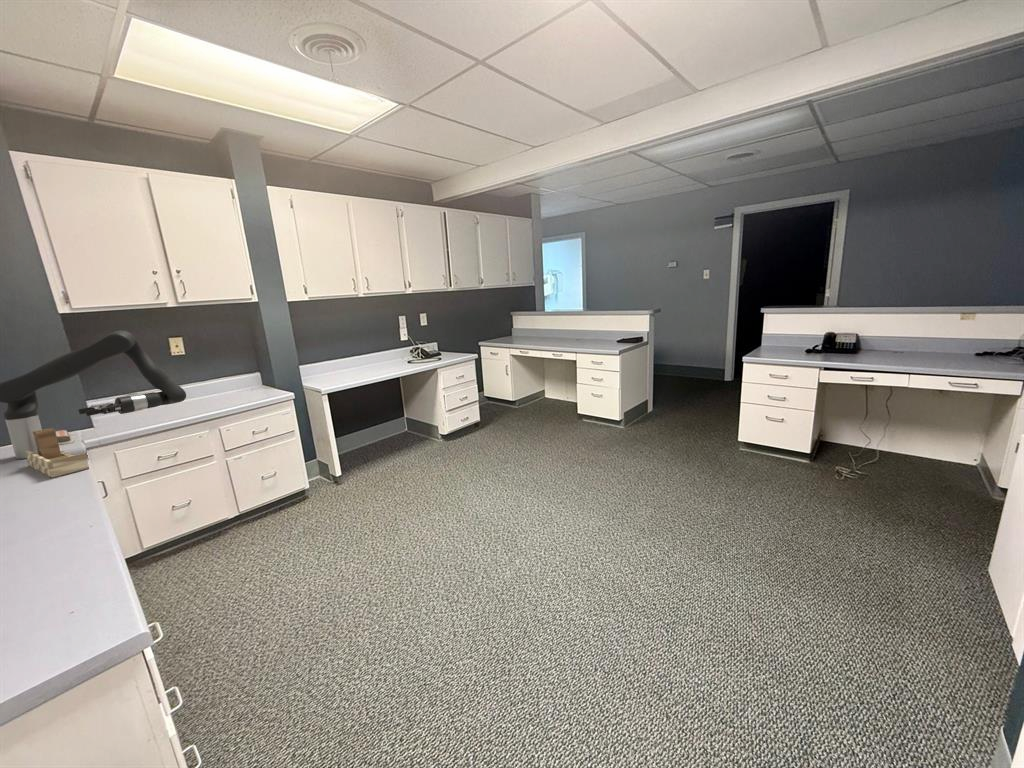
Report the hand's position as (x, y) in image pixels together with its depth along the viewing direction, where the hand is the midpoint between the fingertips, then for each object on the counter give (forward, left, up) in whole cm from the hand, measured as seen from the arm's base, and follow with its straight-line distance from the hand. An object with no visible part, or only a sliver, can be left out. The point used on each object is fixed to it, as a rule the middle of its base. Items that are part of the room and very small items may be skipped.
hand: (82, 412), depth 174 cm
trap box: (+7, -12, -19) cm, 23 cm away
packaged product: (-45, 0, -19) cm, 49 cm away
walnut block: (0, -12, -18) cm, 22 cm away
